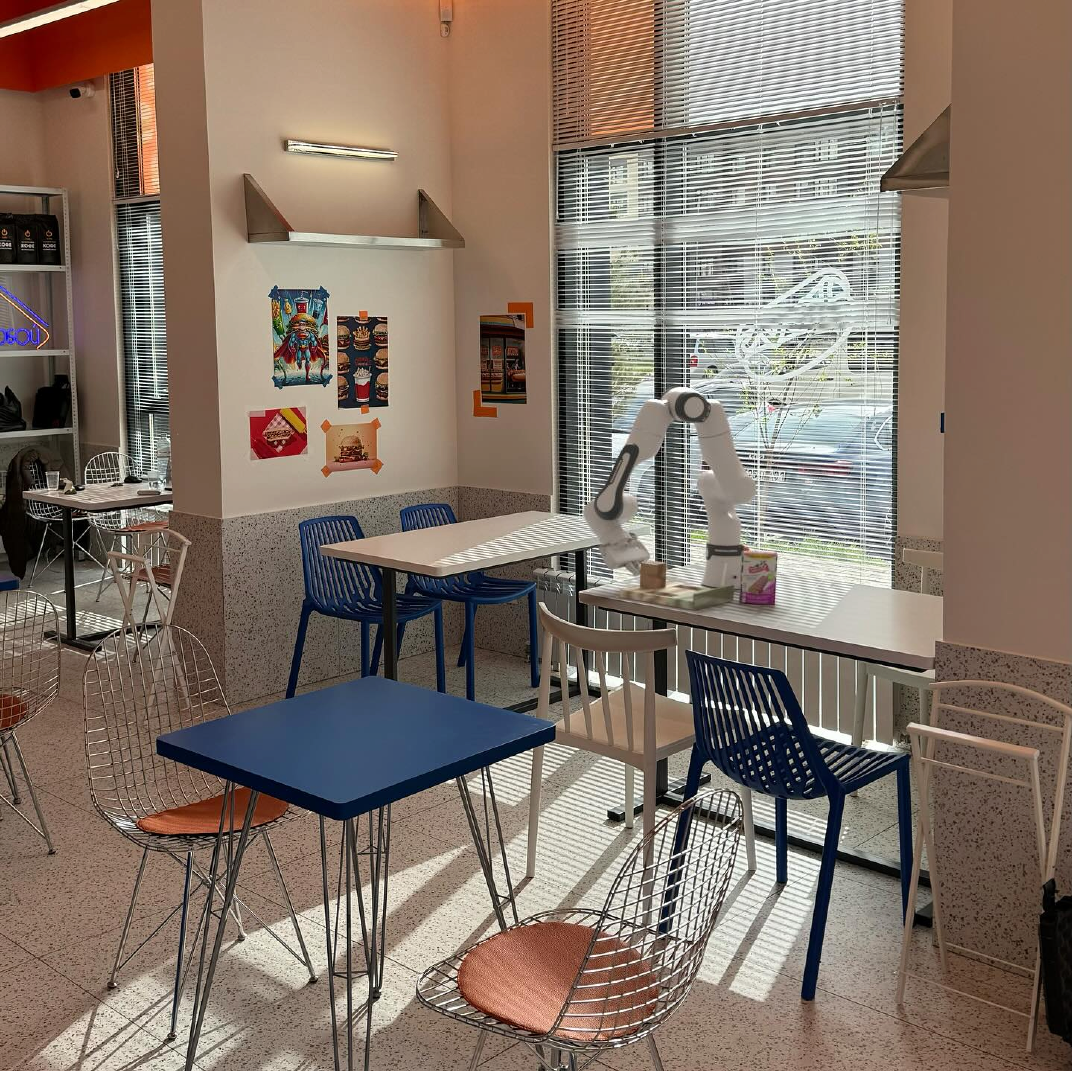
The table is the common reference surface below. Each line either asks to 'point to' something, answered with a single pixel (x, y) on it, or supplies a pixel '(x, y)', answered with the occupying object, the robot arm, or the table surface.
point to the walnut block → (653, 575)
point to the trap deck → (681, 595)
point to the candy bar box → (758, 577)
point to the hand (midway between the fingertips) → (639, 574)
